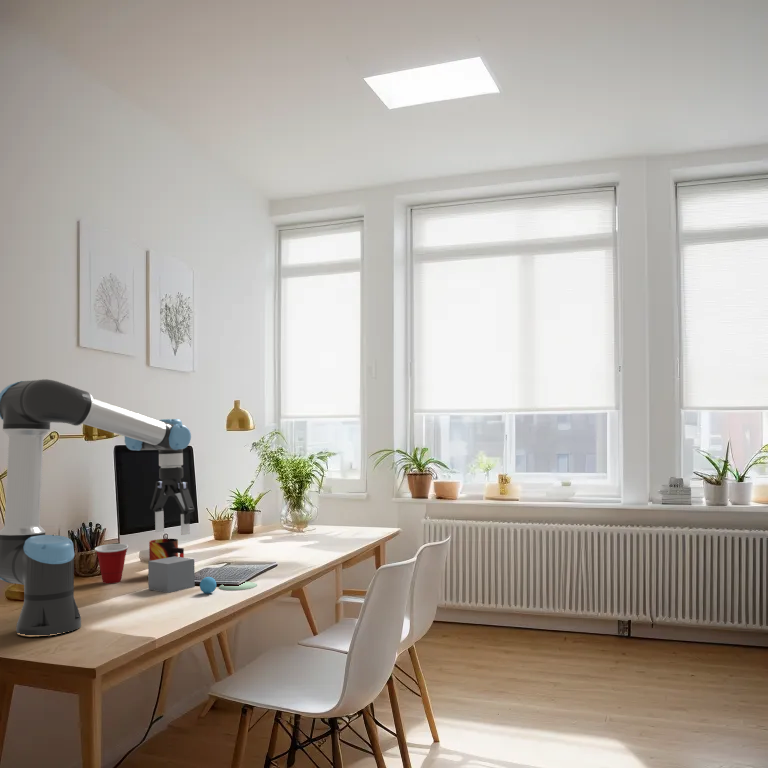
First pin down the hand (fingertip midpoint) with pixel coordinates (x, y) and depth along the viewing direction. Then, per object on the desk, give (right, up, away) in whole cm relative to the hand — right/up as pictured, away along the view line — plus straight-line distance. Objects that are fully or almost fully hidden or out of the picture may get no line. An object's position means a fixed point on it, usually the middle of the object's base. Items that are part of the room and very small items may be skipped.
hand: (172, 533), depth 241 cm
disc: (+21, -17, -1) cm, 27 cm away
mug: (-7, -19, +21) cm, 29 cm away
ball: (+14, -14, -11) cm, 22 cm away
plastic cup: (-24, -19, +11) cm, 32 cm away
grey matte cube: (0, -17, -1) cm, 17 cm away
